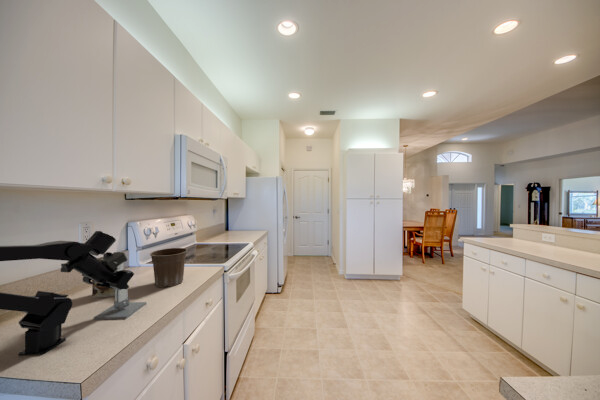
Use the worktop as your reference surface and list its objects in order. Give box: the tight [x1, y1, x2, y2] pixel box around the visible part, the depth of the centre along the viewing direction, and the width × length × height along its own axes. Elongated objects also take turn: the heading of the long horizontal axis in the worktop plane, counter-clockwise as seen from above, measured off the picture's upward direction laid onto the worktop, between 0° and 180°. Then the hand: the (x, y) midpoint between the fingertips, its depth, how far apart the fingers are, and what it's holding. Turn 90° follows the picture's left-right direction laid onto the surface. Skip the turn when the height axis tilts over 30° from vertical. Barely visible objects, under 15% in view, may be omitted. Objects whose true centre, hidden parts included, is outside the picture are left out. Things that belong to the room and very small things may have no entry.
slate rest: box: [93, 301, 147, 321], centre depth 83 cm, size 11×11×1 cm
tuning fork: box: [113, 282, 130, 310], centre depth 83 cm, size 3×3×12 cm
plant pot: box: [149, 247, 188, 288], centre depth 111 cm, size 16×16×16 cm
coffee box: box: [91, 256, 125, 299], centre depth 98 cm, size 9×6×16 cm
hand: (125, 287), depth 84 cm, fingers closed on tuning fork, 2 cm apart
